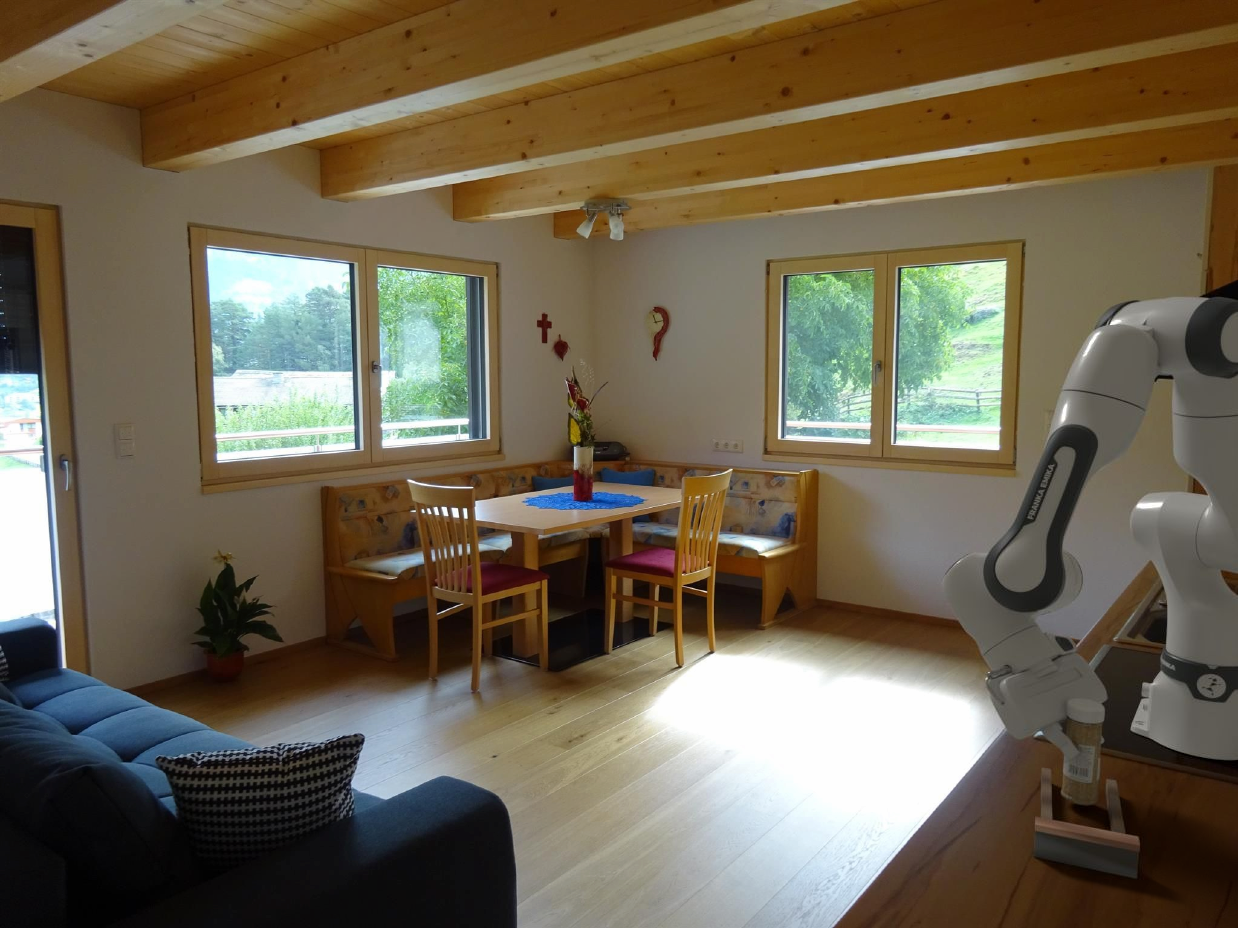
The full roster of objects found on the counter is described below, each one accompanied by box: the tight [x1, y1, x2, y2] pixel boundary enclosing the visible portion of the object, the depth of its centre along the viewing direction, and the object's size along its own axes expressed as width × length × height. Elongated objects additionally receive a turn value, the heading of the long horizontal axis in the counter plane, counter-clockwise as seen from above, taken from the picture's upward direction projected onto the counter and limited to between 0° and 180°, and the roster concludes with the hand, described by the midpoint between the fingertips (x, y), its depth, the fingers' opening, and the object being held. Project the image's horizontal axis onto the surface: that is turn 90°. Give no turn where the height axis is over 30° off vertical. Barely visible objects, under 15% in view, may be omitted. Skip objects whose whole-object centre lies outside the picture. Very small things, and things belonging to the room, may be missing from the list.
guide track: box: [1033, 767, 1141, 880], centre depth 119 cm, size 22×11×4 cm, turn 155°
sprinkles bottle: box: [1060, 698, 1106, 806], centre depth 123 cm, size 5×5×14 cm
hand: (1087, 750), depth 122 cm, fingers closed on sprinkles bottle, 4 cm apart
